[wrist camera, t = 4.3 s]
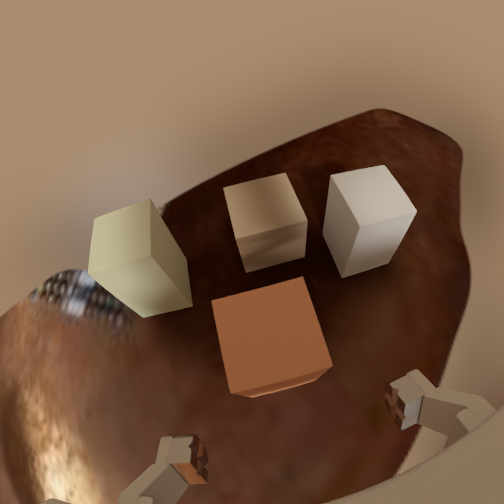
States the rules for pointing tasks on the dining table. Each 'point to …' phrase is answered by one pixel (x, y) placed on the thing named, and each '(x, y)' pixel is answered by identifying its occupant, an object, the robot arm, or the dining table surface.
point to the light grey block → (365, 218)
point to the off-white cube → (267, 221)
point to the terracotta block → (270, 339)
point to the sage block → (139, 260)
